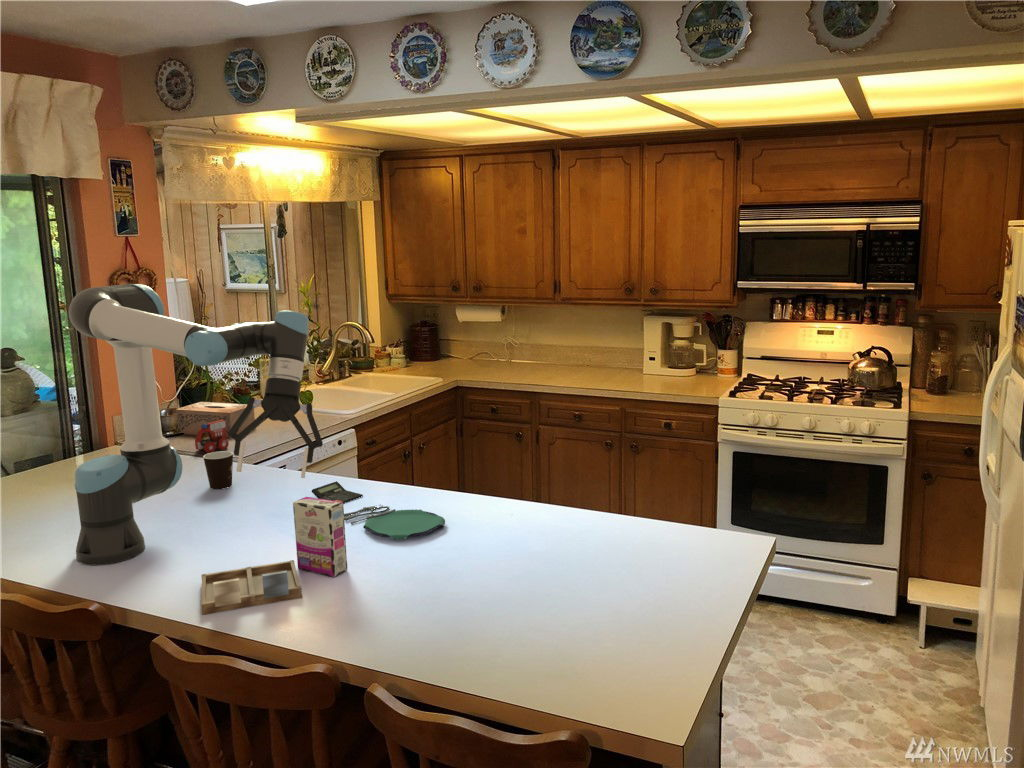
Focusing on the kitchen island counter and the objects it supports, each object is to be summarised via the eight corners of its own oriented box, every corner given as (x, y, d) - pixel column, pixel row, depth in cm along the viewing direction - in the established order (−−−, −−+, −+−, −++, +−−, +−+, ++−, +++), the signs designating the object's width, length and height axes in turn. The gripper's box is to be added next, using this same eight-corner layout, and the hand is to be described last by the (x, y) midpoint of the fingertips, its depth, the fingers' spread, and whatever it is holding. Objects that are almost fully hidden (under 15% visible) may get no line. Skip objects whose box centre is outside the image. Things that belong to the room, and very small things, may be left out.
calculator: (338, 506, 228) (337, 496, 228) (311, 498, 235) (311, 489, 234) (362, 497, 235) (362, 487, 235) (336, 490, 242) (335, 480, 242)
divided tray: (202, 614, 164) (199, 586, 162) (202, 583, 178) (199, 557, 177) (302, 597, 170) (300, 570, 169) (294, 568, 185) (292, 543, 184)
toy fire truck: (191, 452, 288) (188, 424, 286) (222, 444, 298) (219, 417, 296) (201, 455, 284) (198, 426, 282) (233, 447, 293) (230, 420, 291)
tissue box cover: (255, 429, 322) (253, 404, 320) (232, 438, 308) (229, 412, 306) (203, 425, 330) (200, 401, 328) (178, 434, 317) (175, 409, 315)
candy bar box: (348, 569, 184) (344, 501, 181) (334, 578, 180) (329, 508, 177) (311, 561, 189) (306, 495, 186) (296, 569, 185) (291, 501, 182)
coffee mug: (226, 491, 243) (223, 459, 241) (200, 490, 245) (197, 458, 243) (246, 479, 254) (243, 449, 252) (221, 478, 256) (218, 448, 254)
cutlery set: (396, 549, 196) (396, 540, 195) (329, 522, 217) (329, 514, 216) (458, 528, 209) (458, 519, 209) (389, 504, 230) (389, 496, 230)
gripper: (224, 369, 173) (209, 467, 169) (341, 383, 178) (329, 479, 175) (227, 375, 180) (213, 469, 176) (340, 389, 186) (328, 480, 182)
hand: (271, 474), depth 176 cm, fingers open, 13 cm apart
